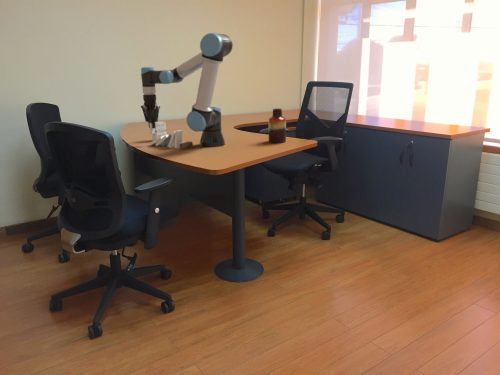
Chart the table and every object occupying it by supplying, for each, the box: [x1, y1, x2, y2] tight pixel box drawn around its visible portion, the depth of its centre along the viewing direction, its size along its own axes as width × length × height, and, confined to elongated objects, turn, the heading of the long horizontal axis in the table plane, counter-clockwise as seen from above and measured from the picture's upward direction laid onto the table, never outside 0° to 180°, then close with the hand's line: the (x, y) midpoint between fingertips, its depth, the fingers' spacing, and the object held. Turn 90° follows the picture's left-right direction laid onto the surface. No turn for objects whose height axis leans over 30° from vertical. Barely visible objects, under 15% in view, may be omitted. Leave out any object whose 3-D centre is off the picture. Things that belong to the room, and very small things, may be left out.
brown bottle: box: [268, 108, 287, 144], centre depth 263 cm, size 11×11×20 cm
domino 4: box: [167, 130, 176, 148], centre depth 252 cm, size 2×5×10 cm, turn 155°
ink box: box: [151, 121, 168, 141], centre depth 274 cm, size 9×5×12 cm, turn 141°
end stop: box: [179, 141, 194, 150], centre depth 250 cm, size 3×9×3 cm, turn 154°
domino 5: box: [173, 129, 183, 149], centre depth 251 cm, size 2×5×10 cm, turn 155°
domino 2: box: [155, 134, 169, 147], centre depth 256 cm, size 2×5×10 cm
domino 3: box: [161, 132, 173, 148], centre depth 254 cm, size 2×5×10 cm
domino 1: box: [149, 136, 164, 147], centre depth 258 cm, size 2×5×10 cm
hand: (152, 133), depth 258 cm, fingers closed
